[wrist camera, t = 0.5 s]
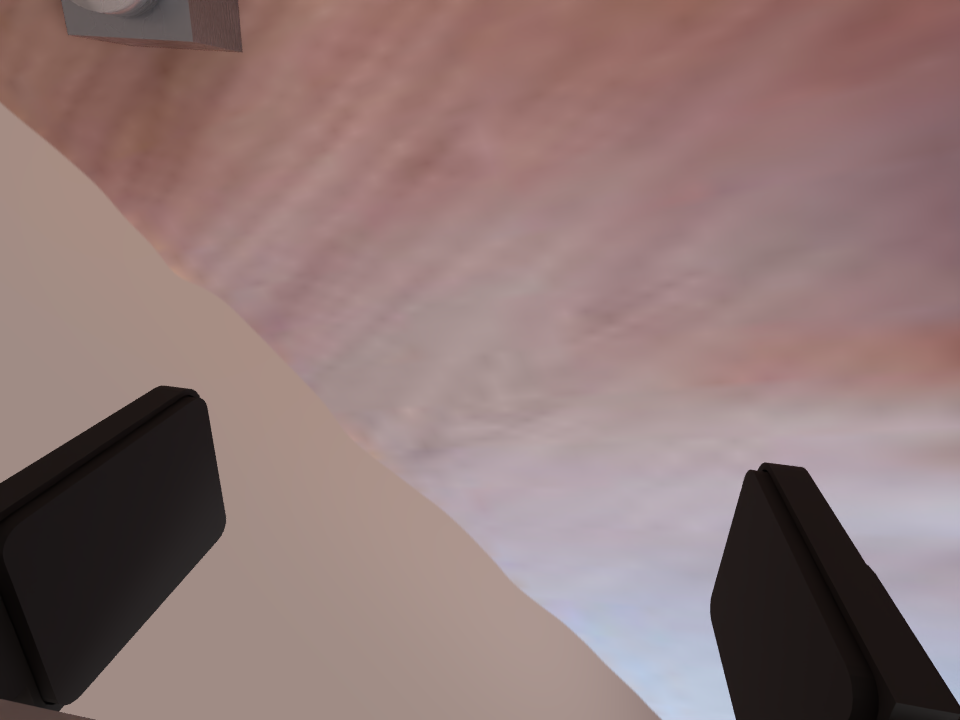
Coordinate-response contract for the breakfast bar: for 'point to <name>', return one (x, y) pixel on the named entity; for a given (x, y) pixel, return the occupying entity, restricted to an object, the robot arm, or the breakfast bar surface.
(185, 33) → the block
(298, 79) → the breakfast bar surface
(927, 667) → the robot arm
